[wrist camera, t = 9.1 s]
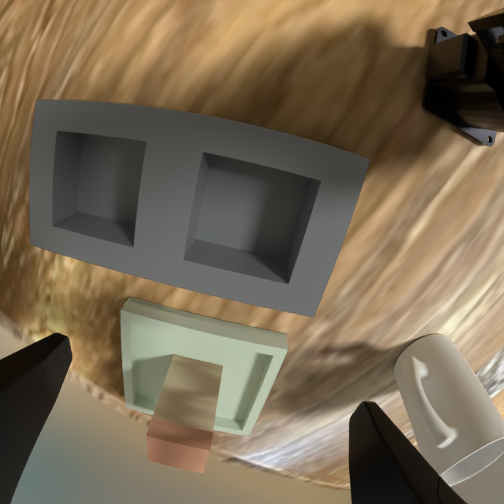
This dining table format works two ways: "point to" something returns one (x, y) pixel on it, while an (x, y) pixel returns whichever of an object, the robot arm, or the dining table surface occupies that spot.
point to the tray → (201, 348)
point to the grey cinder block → (191, 200)
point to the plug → (185, 414)
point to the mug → (448, 409)
